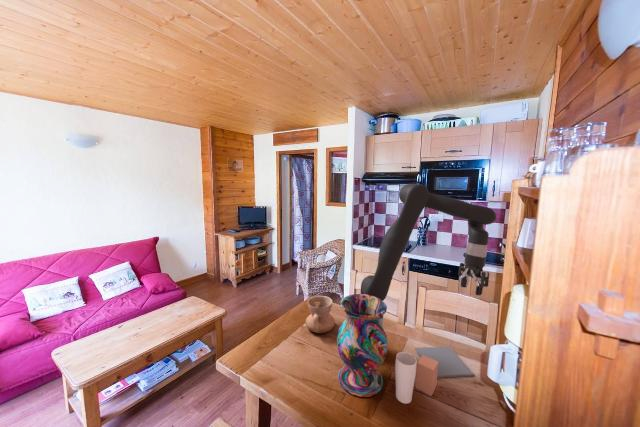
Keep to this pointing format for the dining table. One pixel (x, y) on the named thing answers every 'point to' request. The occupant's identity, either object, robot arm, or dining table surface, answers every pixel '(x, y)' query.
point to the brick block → (427, 375)
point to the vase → (362, 344)
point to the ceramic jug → (320, 315)
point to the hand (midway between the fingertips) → (470, 290)
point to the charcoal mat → (446, 361)
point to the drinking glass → (405, 376)
